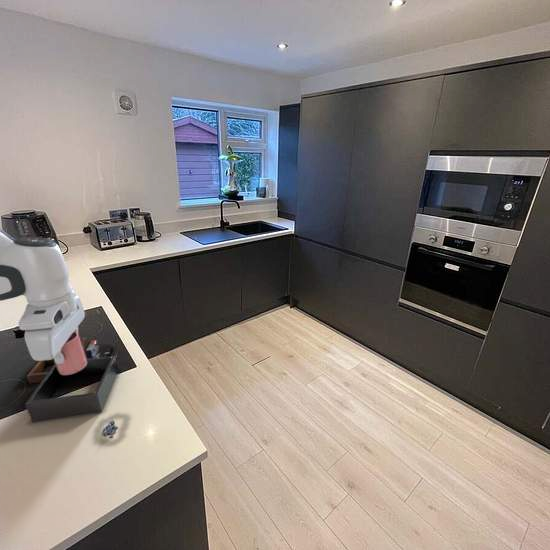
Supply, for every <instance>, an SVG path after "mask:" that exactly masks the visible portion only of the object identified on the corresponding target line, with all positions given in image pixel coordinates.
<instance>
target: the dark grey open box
mask: <svg viewBox="0 0 550 550" xmlns="http://www.w3.org/2000/svg"><path fill="white" fill-rule="evenodd" d="M47 372H48V374H47V375H46V376H45V378H44V379H43V381H42V382H39V384H38V386H37V387H36V388H35V390H34V392H32V394H31V395H30V397H29V398H28V400H27V401H26V402H25V407H26V410H27V413H28V415H29V418H30V420H31V423H38V422H44V421H52V420H59V419H66V418H72V417H73V418H74V417H78V416H85V415H93V414H100V413H103V411H104V409H105V406H106V404H107V401H108V399H109V396H110V394H111V392H112V389H113V387H114V384H115V381H116V379H117V377H118V374H119V368H118V363H117V358H116V355H110V356H109V357H99V358H90V359H87V365H86V366H85V367H84V368H83V369H82V370H80V371H79V372H76V373H74V374H70V375H61V374H59V372H58V370H57V367H56V365H55V363H54V364H53V365H52V367H51V368H50V369H49V371H47ZM98 376H102V377H101V379H100V381H99V383H98V385H97V388H96V390H95V392H89V393H82V394H76V395H68V396H67V395H66V396H60V397H59V396H58V397H53V396H54V395H55V393H56V391H57V390H58V388H59V387H60V385H61V384H62V382H63V381H65V380H74V379H83V378H92V377H98Z"/></svg>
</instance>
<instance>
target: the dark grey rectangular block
mask: <svg viewBox="0 0 550 550" xmlns="http://www.w3.org/2000/svg"><path fill="white" fill-rule="evenodd" d="M98 346H99V345H98V341H97V340H96V339H95V340H91V341H90V344H89V345H87V347H88V348H87V350H86V352H87V356H88V359H90V358H94V357H95V355H96V353H97V352H98V350H99V349H98Z"/></svg>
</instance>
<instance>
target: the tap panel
mask: <svg viewBox="0 0 550 550" xmlns="http://www.w3.org/2000/svg"><path fill="white" fill-rule="evenodd" d="M113 347H114V346H113V344H111V343H110V344H100V345H98V349H99V350H98V352H97V353H96V355H95V357H94V358H99V357H109V356H112V353H113V350H114V348H113ZM87 348H88V346H86V347H85V349H84V352H85V355H86V358H87V359H88V356H87V352H86V350H87Z"/></svg>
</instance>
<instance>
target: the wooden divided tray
mask: <svg viewBox="0 0 550 550" xmlns="http://www.w3.org/2000/svg"><path fill="white" fill-rule="evenodd" d="M80 340H81V343H82V346H83V349H85V347H88V346H89V345H88V339H87V337H80ZM52 364H53V365H54V364H55V362H54V359H51V360H45V361H37V362H36V364H35V365H34V366H33V367H32V369H31V370H30V371H29V373H28V374H27V375H26V378H27V381H28V384H36V383H38V384H39V383H41V382H42V381H43V379H44V378H45V376H46V375H47V374H48V372H49V371H44V372H43V370H45V368H46V366H48V365H52Z"/></svg>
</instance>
